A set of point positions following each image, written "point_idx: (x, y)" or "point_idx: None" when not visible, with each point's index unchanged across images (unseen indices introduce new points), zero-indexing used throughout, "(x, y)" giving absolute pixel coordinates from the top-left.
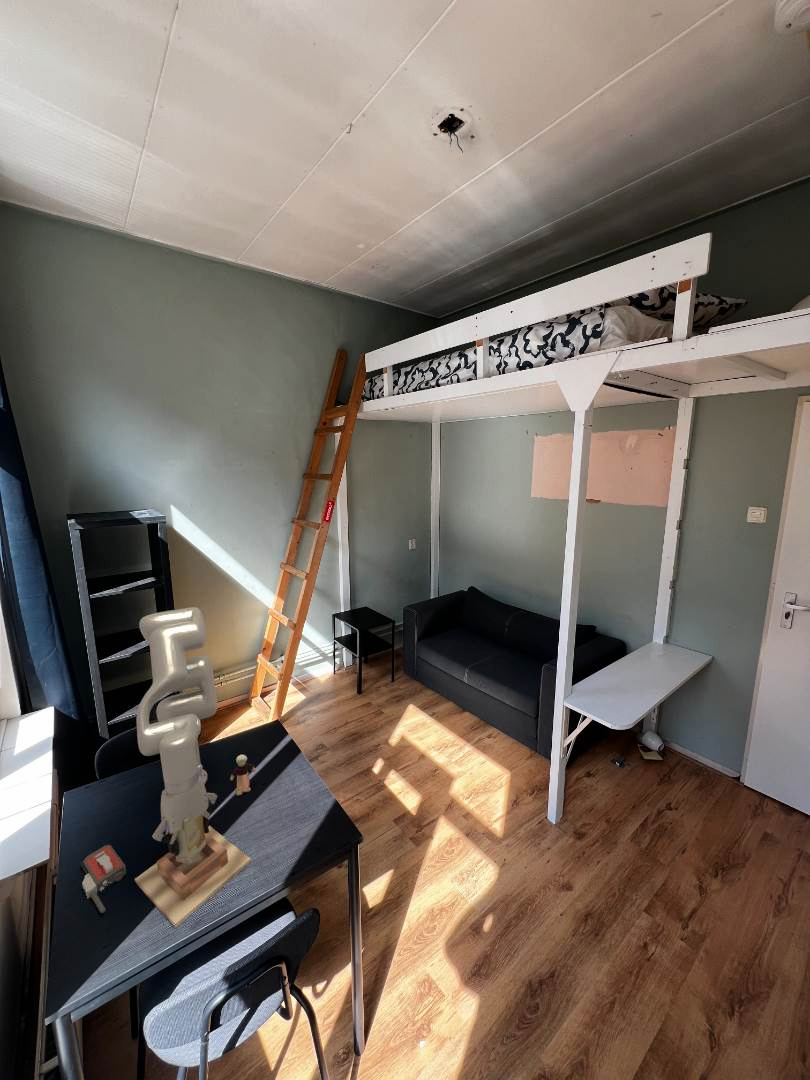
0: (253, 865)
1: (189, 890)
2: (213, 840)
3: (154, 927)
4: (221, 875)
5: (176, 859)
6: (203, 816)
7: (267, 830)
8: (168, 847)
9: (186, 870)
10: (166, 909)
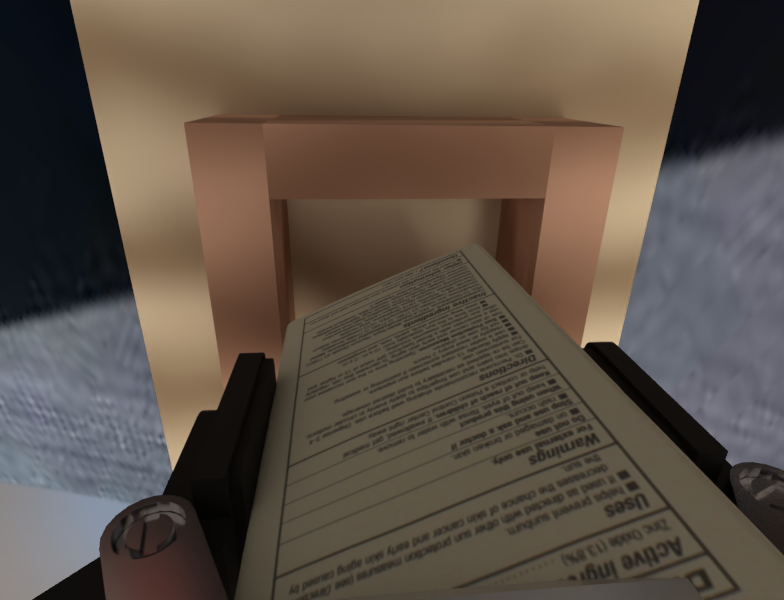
0: None
1: None
2: (574, 330)
3: (103, 394)
4: None
5: (286, 336)
6: None
7: (771, 363)
8: (188, 446)
9: (360, 251)
10: (169, 387)
